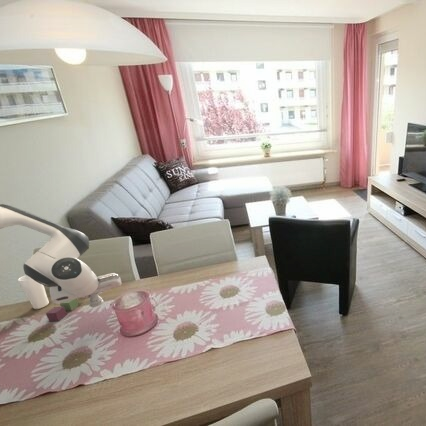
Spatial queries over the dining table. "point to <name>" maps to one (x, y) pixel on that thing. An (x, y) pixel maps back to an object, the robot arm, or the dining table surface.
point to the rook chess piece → (95, 300)
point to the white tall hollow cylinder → (34, 292)
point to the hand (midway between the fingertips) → (93, 293)
